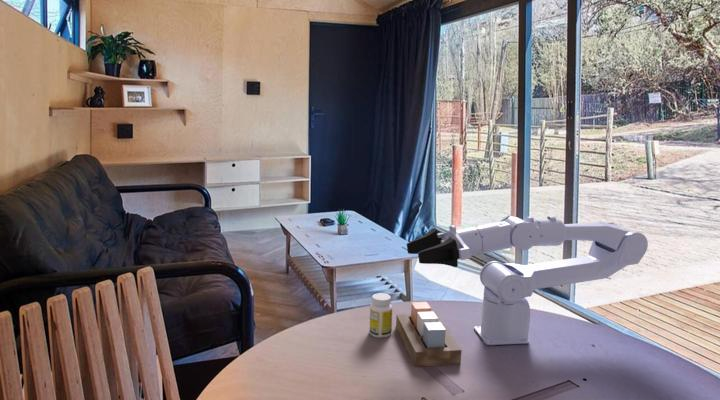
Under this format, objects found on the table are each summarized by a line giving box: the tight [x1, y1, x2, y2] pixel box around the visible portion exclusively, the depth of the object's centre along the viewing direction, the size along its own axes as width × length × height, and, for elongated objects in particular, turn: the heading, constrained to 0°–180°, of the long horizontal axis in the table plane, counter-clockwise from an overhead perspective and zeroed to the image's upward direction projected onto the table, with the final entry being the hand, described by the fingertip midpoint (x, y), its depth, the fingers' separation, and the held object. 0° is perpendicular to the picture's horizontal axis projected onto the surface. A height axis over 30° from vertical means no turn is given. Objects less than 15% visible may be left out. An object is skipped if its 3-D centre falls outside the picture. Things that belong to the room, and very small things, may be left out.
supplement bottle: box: [369, 292, 393, 338], centre depth 111 cm, size 5×5×8 cm
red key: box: [410, 301, 432, 325], centre depth 112 cm, size 3×3×4 cm
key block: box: [395, 312, 462, 368], centre depth 107 cm, size 9×17×3 cm, turn 9°
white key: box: [417, 310, 438, 336], centre depth 107 cm, size 3×3×4 cm
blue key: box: [423, 322, 446, 348], centre depth 102 cm, size 3×3×4 cm
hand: (413, 253), depth 104 cm, fingers open, 7 cm apart
